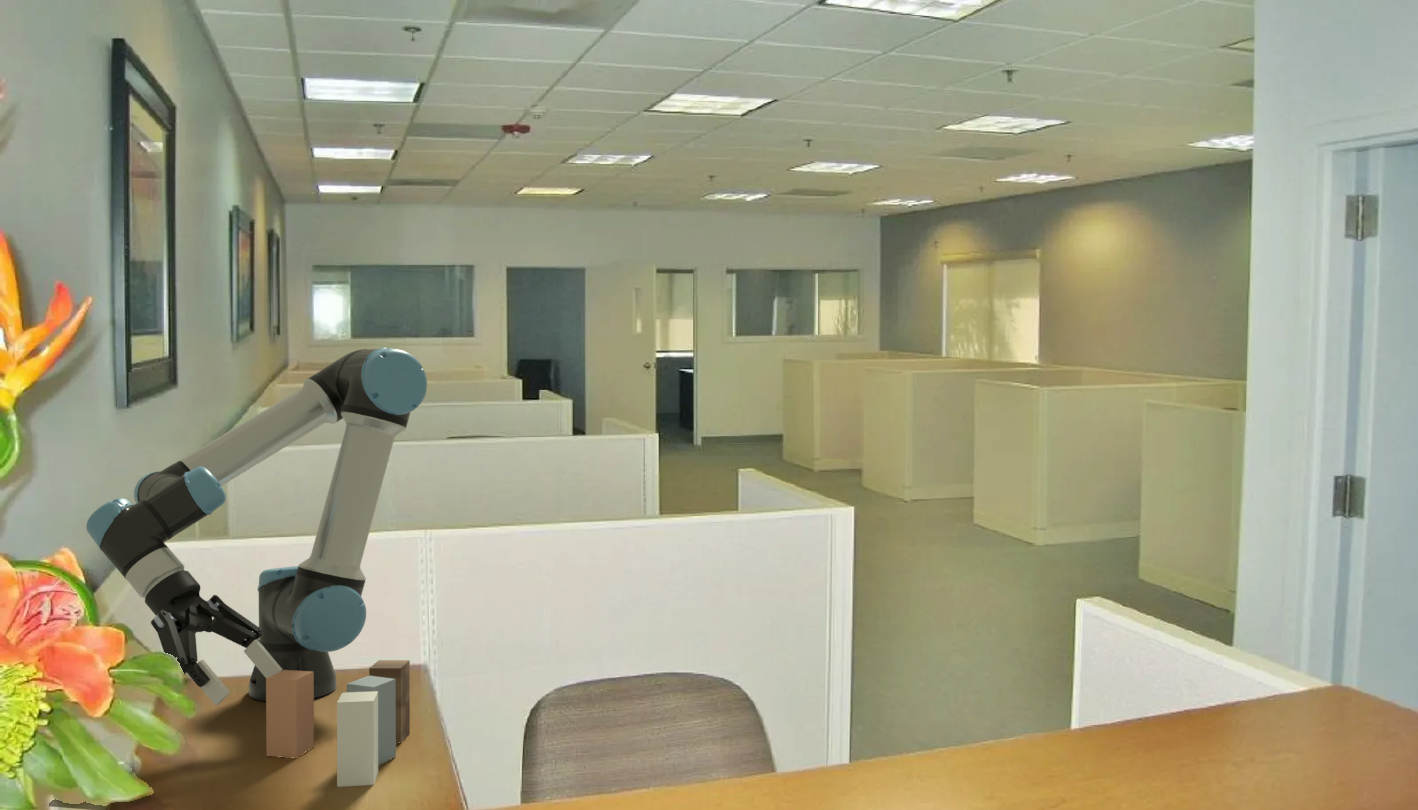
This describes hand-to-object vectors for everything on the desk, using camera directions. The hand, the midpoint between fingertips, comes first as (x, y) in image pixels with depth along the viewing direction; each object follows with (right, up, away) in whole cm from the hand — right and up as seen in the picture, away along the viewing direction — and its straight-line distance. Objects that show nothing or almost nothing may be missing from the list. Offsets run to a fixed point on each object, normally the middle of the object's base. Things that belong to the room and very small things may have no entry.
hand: (250, 687), depth 172 cm
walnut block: (+19, -10, +7) cm, 23 cm away
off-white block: (+20, -11, -11) cm, 25 cm away
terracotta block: (+6, -10, +1) cm, 12 cm away
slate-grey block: (+19, -10, -3) cm, 22 cm away
